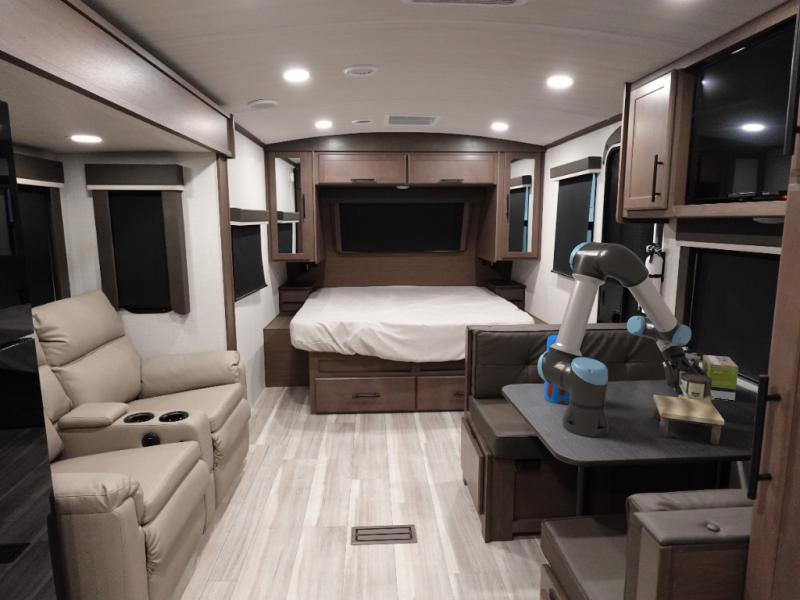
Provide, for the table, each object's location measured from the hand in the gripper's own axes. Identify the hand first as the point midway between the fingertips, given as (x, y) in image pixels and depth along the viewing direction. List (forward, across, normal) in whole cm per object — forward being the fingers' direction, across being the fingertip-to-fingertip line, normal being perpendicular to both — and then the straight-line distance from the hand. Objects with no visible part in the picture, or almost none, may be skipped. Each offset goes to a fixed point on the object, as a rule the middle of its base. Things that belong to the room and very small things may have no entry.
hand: (700, 401), depth 183 cm
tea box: (-8, -27, -16) cm, 32 cm away
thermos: (-15, +42, -23) cm, 50 cm away
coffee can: (+2, 0, -6) cm, 7 cm away
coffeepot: (-13, -18, -21) cm, 31 cm away
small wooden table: (+11, +16, +3) cm, 19 cm away
